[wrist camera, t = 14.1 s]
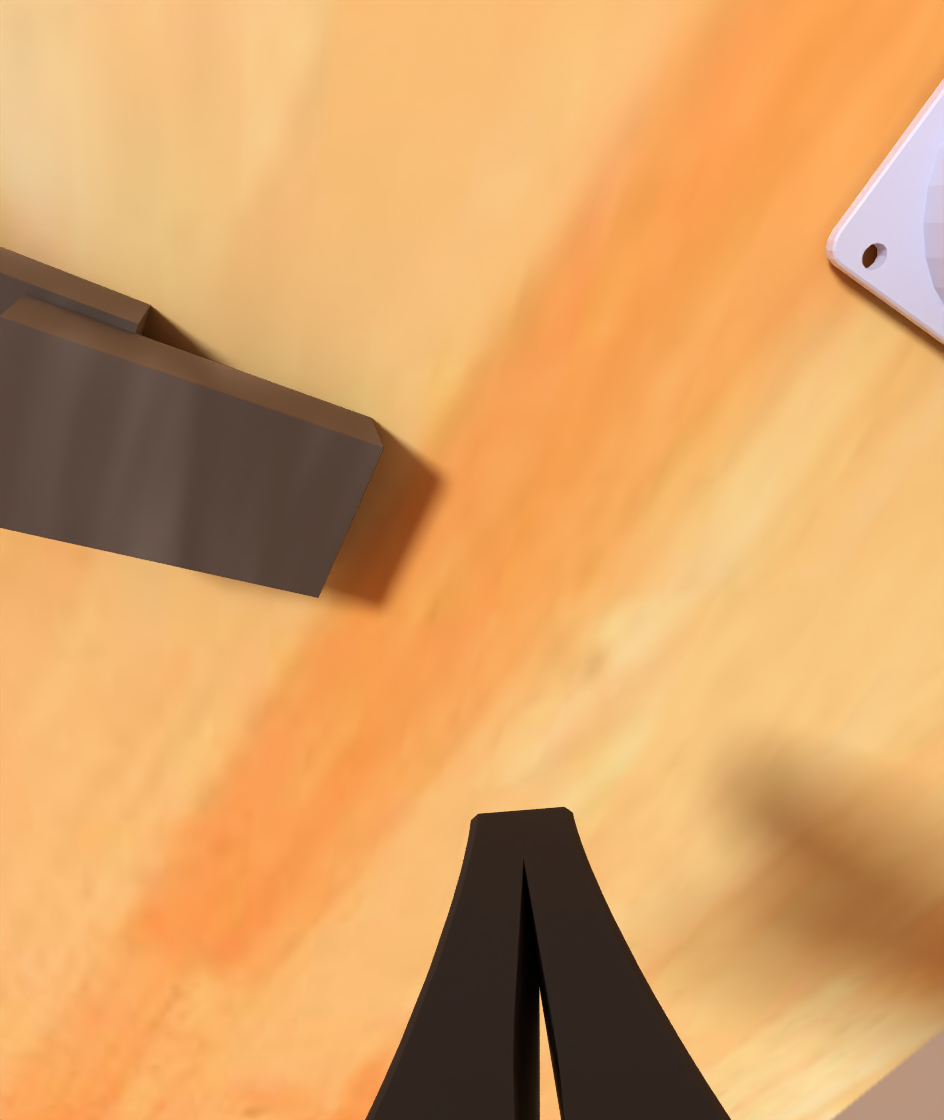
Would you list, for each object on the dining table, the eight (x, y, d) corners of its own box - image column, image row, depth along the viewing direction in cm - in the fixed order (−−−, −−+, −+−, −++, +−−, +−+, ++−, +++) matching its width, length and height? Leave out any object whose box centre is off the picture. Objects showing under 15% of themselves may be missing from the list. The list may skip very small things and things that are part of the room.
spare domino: (383, 447, 15) (-1, 316, 12) (317, 597, 17) (-34, 520, 14) (371, 418, 17) (25, 293, 13) (312, 560, 19) (-8, 481, 15)
